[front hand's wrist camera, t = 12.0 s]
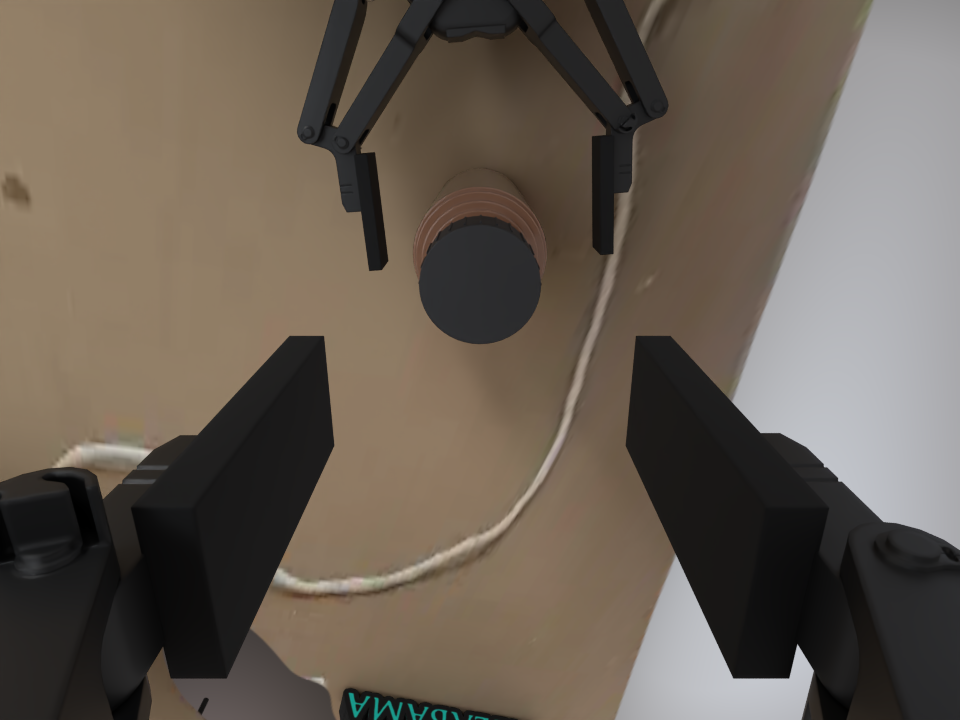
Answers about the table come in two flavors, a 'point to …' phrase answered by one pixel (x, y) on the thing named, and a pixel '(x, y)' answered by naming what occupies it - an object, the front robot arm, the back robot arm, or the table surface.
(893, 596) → the front robot arm
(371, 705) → the decorative sign
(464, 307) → the cap
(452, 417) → the table surface
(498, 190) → the bottle
